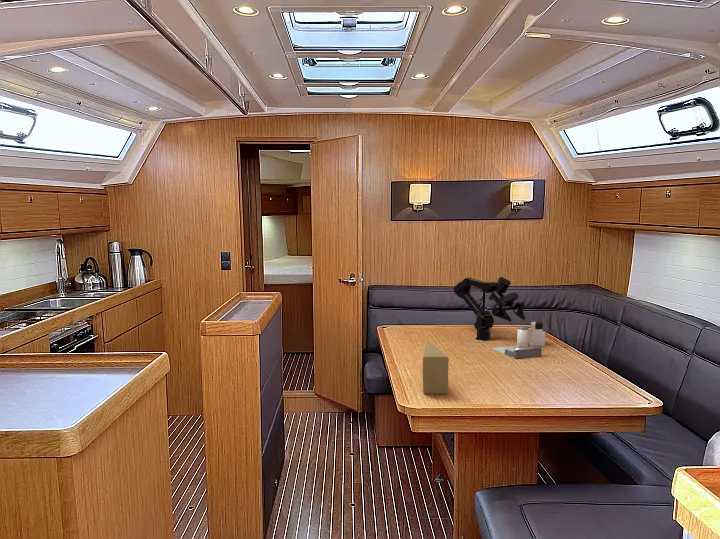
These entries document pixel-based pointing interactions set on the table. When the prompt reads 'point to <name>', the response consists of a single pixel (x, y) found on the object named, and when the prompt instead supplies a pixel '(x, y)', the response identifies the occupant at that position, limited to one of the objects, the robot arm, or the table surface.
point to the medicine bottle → (536, 334)
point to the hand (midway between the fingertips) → (518, 320)
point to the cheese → (435, 370)
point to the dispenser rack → (524, 352)
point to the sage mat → (502, 349)
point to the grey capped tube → (522, 337)
